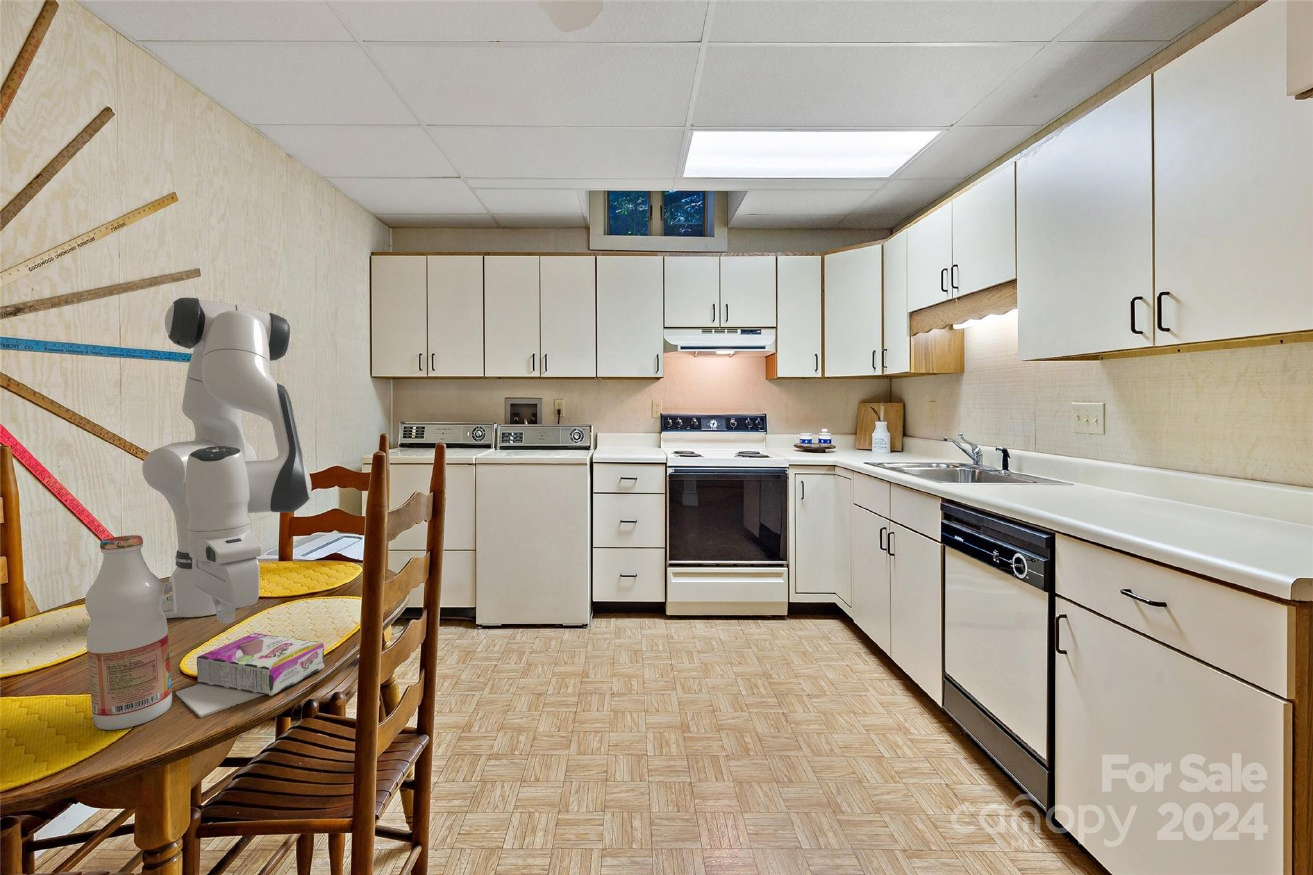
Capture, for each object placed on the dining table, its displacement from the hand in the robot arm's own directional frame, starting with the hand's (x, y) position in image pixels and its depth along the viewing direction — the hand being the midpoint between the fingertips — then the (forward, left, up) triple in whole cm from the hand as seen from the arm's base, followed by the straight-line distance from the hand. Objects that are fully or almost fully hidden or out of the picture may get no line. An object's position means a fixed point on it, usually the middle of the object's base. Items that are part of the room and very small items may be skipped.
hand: (226, 621), depth 104 cm
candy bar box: (-5, +1, -8) cm, 9 cm away
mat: (+4, 0, -11) cm, 11 cm away
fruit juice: (+1, -13, -11) cm, 17 cm away
